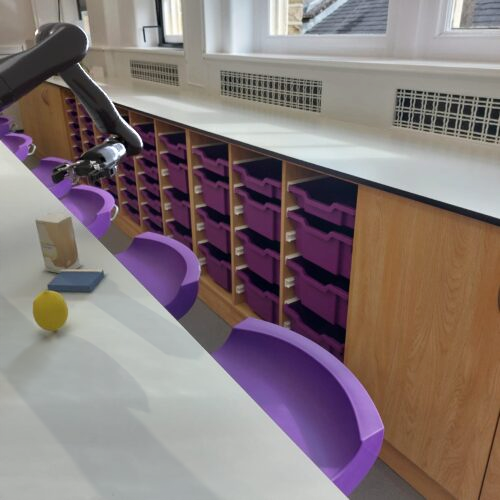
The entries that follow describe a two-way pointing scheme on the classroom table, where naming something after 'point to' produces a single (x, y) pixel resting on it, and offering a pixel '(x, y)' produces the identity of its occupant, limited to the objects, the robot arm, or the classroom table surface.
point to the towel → (76, 280)
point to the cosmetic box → (57, 242)
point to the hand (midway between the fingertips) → (71, 179)
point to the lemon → (50, 310)
